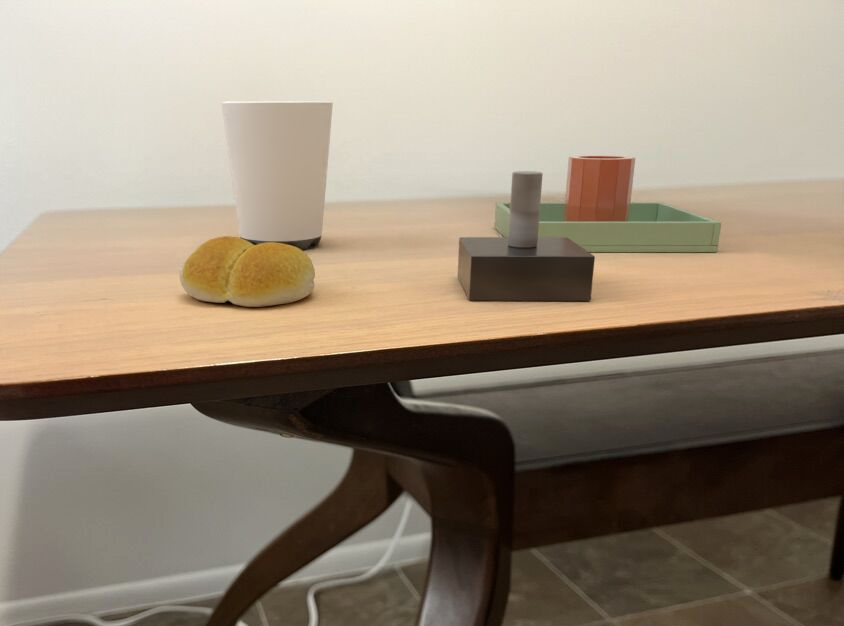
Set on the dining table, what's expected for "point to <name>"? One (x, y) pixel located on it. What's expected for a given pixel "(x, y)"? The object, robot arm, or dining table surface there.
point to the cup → (279, 168)
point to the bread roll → (247, 273)
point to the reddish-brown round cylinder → (599, 188)
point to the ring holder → (525, 256)
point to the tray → (627, 229)
